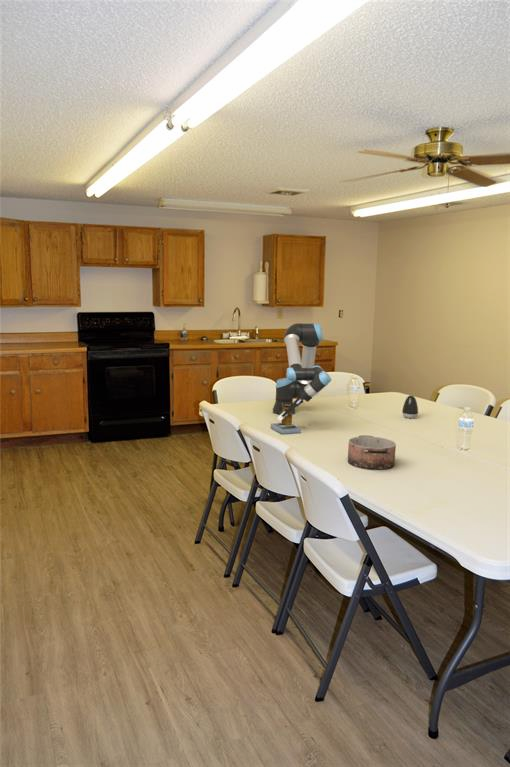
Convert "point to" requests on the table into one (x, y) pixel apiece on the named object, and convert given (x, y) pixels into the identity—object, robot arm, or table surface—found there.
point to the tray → (285, 429)
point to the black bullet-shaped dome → (410, 407)
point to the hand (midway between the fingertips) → (279, 418)
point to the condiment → (288, 419)
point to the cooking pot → (371, 453)
